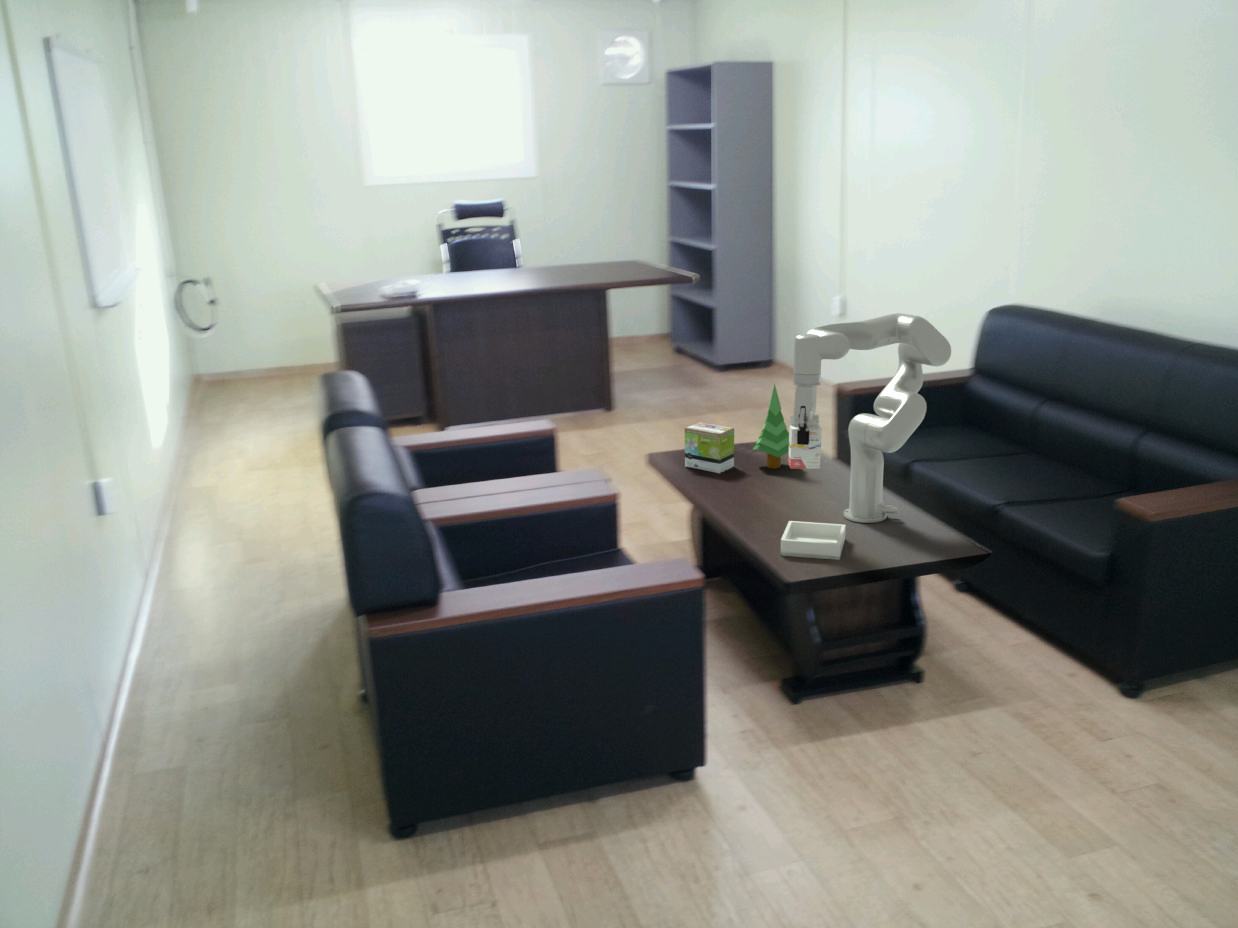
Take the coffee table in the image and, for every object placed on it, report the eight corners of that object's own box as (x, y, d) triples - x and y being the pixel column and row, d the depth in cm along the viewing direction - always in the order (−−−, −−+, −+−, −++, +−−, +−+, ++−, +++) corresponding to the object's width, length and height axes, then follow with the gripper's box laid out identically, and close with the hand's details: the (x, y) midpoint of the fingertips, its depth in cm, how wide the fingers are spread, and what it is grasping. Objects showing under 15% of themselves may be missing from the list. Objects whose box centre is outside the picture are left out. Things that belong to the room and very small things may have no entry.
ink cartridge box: (790, 469, 294) (791, 418, 289) (788, 464, 298) (789, 414, 294) (820, 468, 293) (822, 418, 289) (817, 464, 298) (819, 414, 294)
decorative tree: (787, 459, 374) (788, 377, 366) (797, 471, 359) (799, 387, 351) (750, 461, 373) (750, 379, 365) (759, 473, 358) (759, 388, 350)
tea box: (683, 467, 369) (683, 427, 364) (699, 460, 376) (699, 421, 372) (720, 474, 360) (719, 432, 356) (735, 467, 367) (735, 426, 363)
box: (845, 539, 295) (845, 524, 294) (839, 559, 280) (840, 544, 279) (788, 535, 300) (789, 520, 298) (780, 555, 285) (780, 539, 284)
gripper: (799, 372, 298) (797, 433, 303) (787, 384, 282) (786, 448, 287) (825, 373, 295) (823, 434, 300) (815, 385, 280) (813, 450, 285)
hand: (805, 440), depth 294 cm, fingers closed on ink cartridge box, 6 cm apart
